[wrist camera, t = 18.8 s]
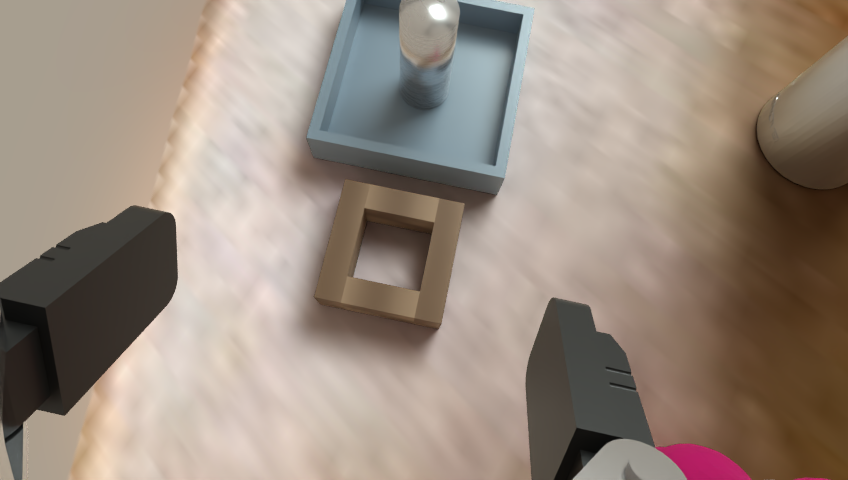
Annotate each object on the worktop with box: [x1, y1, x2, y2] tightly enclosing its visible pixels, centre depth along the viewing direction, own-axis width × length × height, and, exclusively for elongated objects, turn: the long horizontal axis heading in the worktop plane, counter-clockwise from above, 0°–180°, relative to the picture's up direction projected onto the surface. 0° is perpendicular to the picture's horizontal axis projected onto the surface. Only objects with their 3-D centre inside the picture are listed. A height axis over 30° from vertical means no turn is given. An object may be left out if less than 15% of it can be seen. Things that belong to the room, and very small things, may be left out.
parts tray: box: [306, 0, 535, 195], centre depth 45 cm, size 15×15×4 cm
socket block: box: [314, 179, 465, 329], centre depth 41 cm, size 9×9×3 cm
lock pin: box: [399, 0, 460, 110], centre depth 41 cm, size 4×4×10 cm
